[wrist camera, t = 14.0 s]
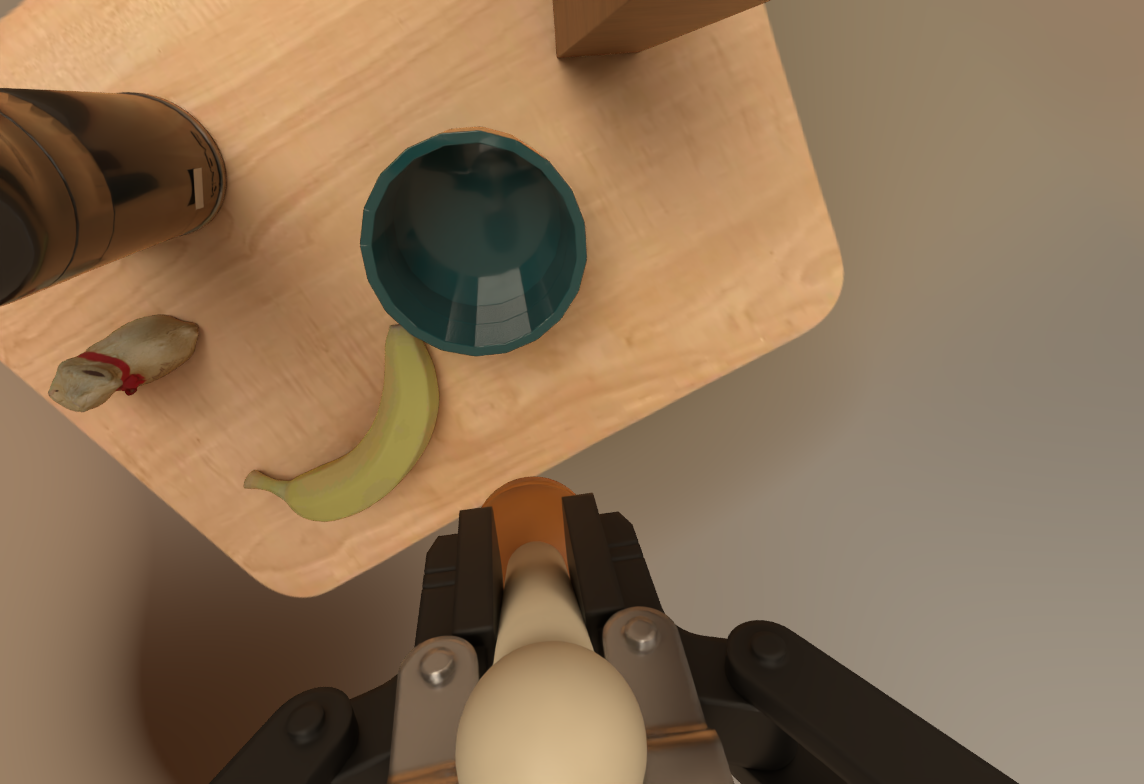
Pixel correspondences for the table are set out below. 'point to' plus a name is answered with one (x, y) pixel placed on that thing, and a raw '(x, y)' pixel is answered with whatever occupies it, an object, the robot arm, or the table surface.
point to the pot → (473, 242)
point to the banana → (371, 441)
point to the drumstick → (545, 667)
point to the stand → (633, 23)
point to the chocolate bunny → (124, 361)
